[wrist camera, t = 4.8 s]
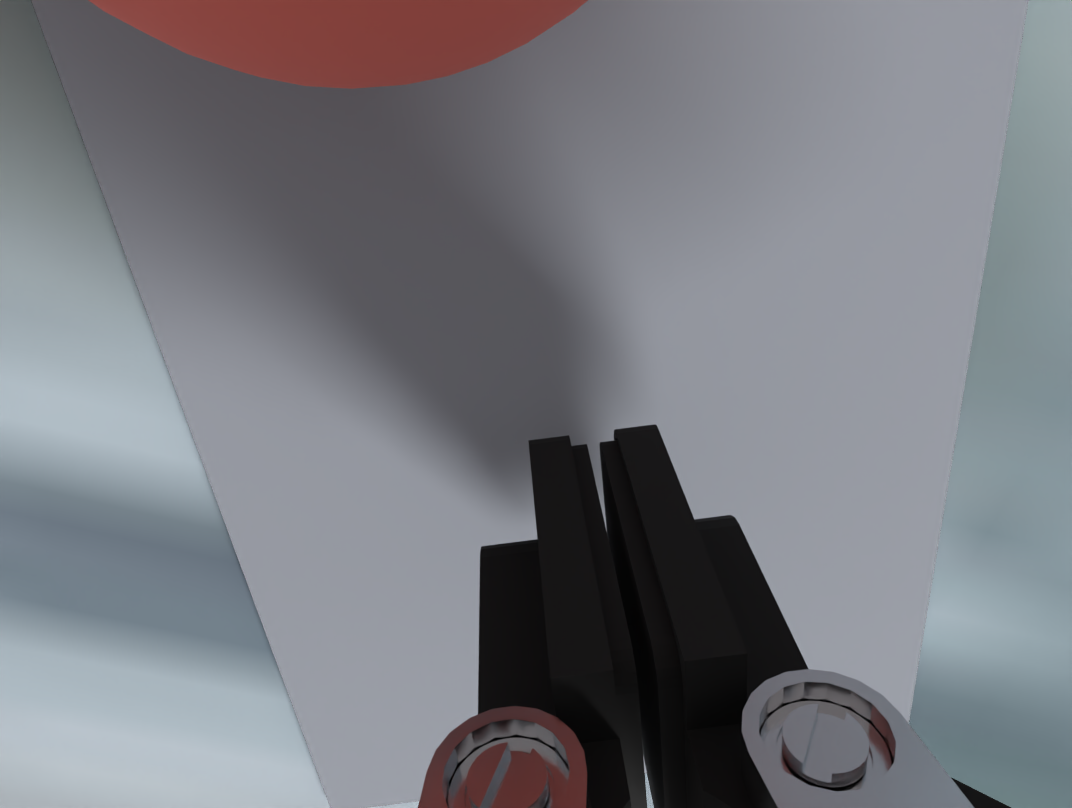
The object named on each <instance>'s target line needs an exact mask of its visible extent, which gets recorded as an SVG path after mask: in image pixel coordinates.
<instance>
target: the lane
mask: <svg viewBox="0 0 1072 808" xmlns="http://www.w3.org/2000/svg"><path fill="white" fill-rule="evenodd" d="M1028 1H1029V0H588V1H587V2H585V3H584V4H583V5H582V6H581V7H579V8H578V9H577V10H576V11H575V12H574V13H572V14H571V15H569V16H568V17H566V18H565V19H563V20H561V21H560V22H558V23H557V24H555V25H554V26H552V27H551V28H549V29H548V30H546V31H545V32H543V33H542V34H540V35H539V36H537V37H536V38H534V39H532V40H531V41H529V42H528V43H526V44H525V45H522V46H520V47H518V48H516V49H514V50H512V51H510V52H508V53H506V54H504V55H502V56H500V57H498V58H496V59H494V60H492V61H490V62H488V63H485V64H482V65H479V66H476V67H473V68H470V69H467V70H464V71H461V72H458V73H455V74H452V75H450V76H446V77H441V78H436V79H431V80H426V81H421V82H417V83H412V84H407V85H395V86H381V87H368V88H354V89H348V88H331V87H313V86H302V85H297V84H292V83H287V82H282V81H277V80H271V79H266V78H261V77H257V76H254V75H250V74H247V73H243V72H240V71H236V70H233V69H230V68H227V67H224V66H221V65H218V64H215V63H212V62H209V61H206V60H203V59H200V58H198V57H195V56H192V55H189V54H186V53H184V52H182V51H180V50H178V49H176V48H174V47H172V46H170V45H168V44H166V43H164V42H162V41H160V40H158V39H156V38H154V37H152V36H150V35H148V34H146V33H144V32H142V31H140V30H138V29H136V28H135V27H133V26H131V25H129V24H127V23H125V22H123V21H121V20H119V19H118V18H116V17H114V16H112V15H110V14H108V13H106V12H104V11H103V10H102V9H100V8H99V7H97V6H96V5H94V4H93V3H91V2H90V1H88V0H31V2H32V5H33V7H34V10H35V13H36V16H37V18H38V21H39V24H40V26H41V29H42V32H43V34H44V37H45V40H46V43H47V45H48V48H49V51H50V53H51V56H52V59H53V61H54V64H55V67H56V69H57V72H58V75H59V78H60V80H61V83H62V86H63V88H64V91H65V94H66V96H67V99H68V102H69V104H70V107H71V110H72V113H73V115H74V118H75V121H76V123H77V126H78V129H79V131H80V134H81V137H82V140H83V142H84V145H85V148H86V150H87V153H88V156H89V158H90V161H91V164H92V166H93V169H94V172H95V175H96V177H97V180H98V183H99V185H100V188H101V191H102V193H103V196H104V199H105V202H106V204H107V207H108V210H109V212H110V215H111V218H112V220H113V223H114V226H115V228H116V231H117V234H118V237H119V239H120V242H121V245H122V247H123V250H124V253H125V255H126V258H127V261H128V263H129V266H130V269H131V272H132V274H133V277H134V280H135V282H136V285H137V288H138V290H139V293H140V296H141V299H142V301H143V304H144V307H145V309H146V312H147V315H148V317H149V320H150V323H151V325H152V328H153V331H154V334H155V336H156V339H157V342H158V344H159V347H160V350H161V352H162V355H163V358H164V361H165V363H166V366H167V369H168V371H169V374H170V377H171V379H172V382H173V385H174V387H175V390H176V393H177V396H178V398H179V401H180V404H181V406H182V409H183V412H184V414H185V417H186V420H187V423H188V425H189V428H190V431H191V433H192V436H193V439H194V441H195V444H196V447H197V449H198V452H199V455H200V458H201V460H202V463H203V466H204V468H205V471H206V474H207V476H208V479H209V482H210V484H211V487H212V490H213V493H214V495H215V498H216V501H217V503H218V506H219V509H220V511H221V514H222V517H223V520H224V522H225V525H226V528H227V530H228V533H229V536H230V538H231V541H232V544H233V546H234V549H235V552H236V555H237V557H238V560H239V563H240V565H241V568H242V571H243V573H244V576H245V579H246V582H247V584H248V587H249V590H250V592H251V595H252V598H253V600H254V603H255V606H256V608H257V611H258V614H259V617H260V619H261V622H262V625H263V627H264V630H265V633H266V635H267V638H268V641H269V643H270V646H271V649H272V652H273V654H274V657H275V660H276V662H277V665H278V668H279V670H280V673H281V676H282V679H283V681H284V684H285V687H286V689H287V692H288V695H289V697H290V700H291V703H292V705H293V708H294V711H295V714H296V716H297V719H298V722H299V724H300V727H301V730H302V732H303V735H304V738H305V741H306V743H307V746H308V749H309V751H310V754H311V757H312V759H313V762H314V765H315V767H316V770H317V773H318V776H319V778H320V781H321V784H322V786H323V789H324V792H325V794H326V797H327V800H328V802H329V805H330V808H367V807H376V806H384V805H392V804H400V803H408V802H416V801H420V797H421V793H422V789H423V784H424V780H425V776H426V772H427V770H428V767H429V765H430V762H431V760H432V758H433V755H434V753H435V750H436V749H437V748H438V747H439V745H440V744H441V743H442V742H443V740H444V739H445V738H446V737H447V735H448V734H449V733H450V732H451V731H452V730H454V729H455V728H456V727H458V726H459V725H461V724H462V723H463V722H465V721H466V720H467V719H469V718H470V717H473V716H475V715H478V669H479V591H480V549H481V547H482V546H488V545H496V544H504V543H512V542H520V541H528V540H536V539H537V528H536V518H535V507H534V496H533V485H532V474H531V464H530V453H529V442H528V441H529V440H535V439H543V438H551V437H559V436H567V435H569V437H570V441H571V446H575V445H582V444H587V446H588V451H589V455H590V460H591V464H592V468H593V473H594V477H595V482H596V486H597V491H598V495H599V500H600V504H601V509H602V513H603V518H604V522H605V527H606V517H605V505H604V494H603V483H602V471H601V460H600V442H606V441H614V429H622V428H630V427H638V426H646V425H653V424H655V425H657V427H658V429H659V431H660V434H661V437H662V439H663V442H664V444H665V447H666V449H667V452H668V454H669V457H670V459H671V462H672V464H673V467H674V469H675V472H676V474H677V477H678V479H679V482H680V484H681V487H682V489H683V492H684V494H685V497H686V500H687V502H688V505H689V507H690V510H691V512H692V515H693V517H694V519H702V518H710V517H718V516H725V515H732V516H734V517H735V518H736V520H737V521H738V523H739V525H740V527H741V529H742V531H743V533H744V535H745V537H746V539H747V541H748V543H749V545H750V548H751V550H752V552H753V554H754V556H755V558H756V560H757V562H758V564H759V566H760V568H761V571H762V573H763V575H764V577H765V579H766V581H767V583H768V585H769V587H770V589H771V591H772V594H773V596H774V598H775V600H776V602H777V604H778V606H779V608H780V610H781V612H782V614H783V617H784V619H785V621H786V623H787V625H788V627H789V629H790V631H791V633H792V635H793V637H794V640H795V642H796V644H797V646H798V648H799V650H800V652H801V654H802V656H803V658H804V660H805V663H806V665H807V667H808V669H813V670H822V671H830V672H836V673H839V674H842V675H844V676H847V677H850V678H853V679H856V680H859V681H861V682H862V683H864V684H866V685H867V686H869V687H871V688H872V689H874V690H875V691H877V692H879V693H880V694H882V695H883V696H884V697H885V698H886V699H887V700H888V701H889V702H890V703H891V704H892V705H893V706H894V707H895V708H896V709H897V710H898V711H899V712H900V713H901V714H902V716H903V717H904V718H905V719H906V721H907V722H908V723H909V718H910V712H911V706H912V700H913V694H914V688H915V682H916V676H917V670H918V664H919V658H920V652H921V646H922V640H923V634H924V628H925V622H926V616H927V610H928V604H929V598H930V592H931V586H932V580H933V573H934V567H935V561H936V555H937V549H938V543H939V537H940V531H941V525H942V519H943V513H944V507H945V501H946V495H947V489H948V483H949V477H950V471H951V465H952V459H953V453H954V447H955V441H956V435H957V429H958V423H959V417H960V411H961V405H962V399H963V393H964V387H965V381H966V374H967V368H968V362H969V356H970V350H971V344H972V338H973V332H974V326H975V320H976V314H977V308H978V302H979V296H980V290H981V284H982V278H983V272H984V266H985V260H986V254H987V248H988V242H989V236H990V230H991V224H992V218H993V212H994V206H995V200H996V194H997V188H998V182H999V175H1000V169H1001V163H1002V157H1003V151H1004V145H1005V139H1006V133H1007V127H1008V121H1009V115H1010V109H1011V103H1012V97H1013V91H1014V85H1015V79H1016V73H1017V67H1018V61H1019V55H1020V49H1021V43H1022V37H1023V31H1024V25H1025V19H1026V13H1027V7H1028ZM606 531H607V528H606ZM643 760H644V756H643ZM644 773H647V771H646V766H645V761H644Z"/></svg>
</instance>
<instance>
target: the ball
mask: <svg viewBox="0 0 1072 808" xmlns="http://www.w3.org/2000/svg"><path fill="white" fill-rule="evenodd" d="M88 1H90V2H91V3H93V4H94V5H96V6H97V7H99V8H100V9H102V10H103V11H104V12H106V13H108V14H110V15H112V16H114V17H116V18H118V19H119V20H121V21H123V22H125V23H127V24H129V25H131V26H133V27H135V28H136V29H138V30H140V31H142V32H144V33H146V34H148V35H150V36H152V37H154V38H156V39H158V40H160V41H162V42H164V43H166V44H168V45H170V46H172V47H174V48H176V49H178V50H180V51H182V52H184V53H186V54H189V55H192V56H195V57H198V58H200V59H203V60H206V61H209V62H212V63H215V64H218V65H221V66H224V67H227V68H230V69H233V70H236V71H240V72H243V73H247V74H250V75H254V76H257V77H261V78H266V79H271V80H277V81H282V82H287V83H292V84H297V85H302V86H313V87H331V88H348V89H354V88H368V87H381V86H395V85H407V84H412V83H417V82H421V81H426V80H431V79H436V78H441V77H446V76H450V75H452V74H455V73H458V72H461V71H464V70H467V69H470V68H473V67H476V66H479V65H482V64H485V63H488V62H490V61H492V60H494V59H496V58H498V57H500V56H502V55H504V54H506V53H508V52H510V51H512V50H514V49H516V48H518V47H520V46H522V45H525V44H526V43H528V42H529V41H531V40H532V39H534V38H536V37H537V36H539V35H540V34H542V33H543V32H545V31H546V30H548V29H549V28H551V27H552V26H554V25H555V24H557V23H558V22H560V21H561V20H563V19H565V18H566V17H568V16H569V15H571V14H572V13H574V12H575V11H576V10H577V9H578V8H579V7H581V6H582V5H583V4H584V3H585V2H587V1H588V0H88Z"/></svg>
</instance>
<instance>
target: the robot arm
mask: <svg viewBox="0 0 1072 808" xmlns="http://www.w3.org/2000/svg"><path fill="white" fill-rule="evenodd" d="M528 442H529V453H530V464H531V474H532V485H533V496H534V507H535V518H536V528H537V539H536V540H528V541H520V542H512V543H504V544H496V545H488V546H482V547H481V549H480V591H479V669H478V715H475V716H473V717H470V718H469V719H467V720H466V721H465V722H463V723H462V724H461V725H459V726H458V727H456V728H455V729H454V730H452V731H451V732H450V733H449V734H448V735H447V737H446V738H445V739H444V740H443V742H442V743H441V744H440V745H439V747H438V748H437V749H436V750H435V753H434V755H433V758H432V760H431V762H430V765H429V767H428V770H427V772H426V776H425V780H424V784H423V789H422V793H421V797H420V801H419V805H418V808H647V801H646V787H645V773H644V761H645V766H646V771H647V775H648V780H649V785H650V790H651V795H652V800H653V805H654V808H1011V807H1009V806H1007V805H1005V804H1003V803H1001V802H999V801H997V800H995V799H993V798H991V797H989V796H987V795H985V794H983V793H981V792H979V791H977V790H975V789H973V788H971V787H969V786H967V785H965V784H963V783H961V782H959V781H957V780H955V779H953V778H951V777H950V776H949V775H948V773H947V772H946V771H945V769H944V768H943V767H942V766H941V764H940V763H939V762H938V760H937V759H936V758H935V757H934V755H933V754H932V753H931V751H930V750H929V749H928V748H927V746H926V745H925V744H924V742H923V741H922V740H921V739H920V737H919V736H918V735H917V734H916V732H915V731H914V730H913V728H912V727H911V726H910V725H909V723H908V722H907V721H906V719H905V718H904V717H903V716H902V714H901V713H900V712H899V711H898V710H897V709H896V708H895V707H894V706H893V705H892V704H891V703H890V702H889V701H888V700H887V699H886V698H885V697H884V696H883V695H882V694H880V693H879V692H877V691H875V690H874V689H872V688H871V687H869V686H867V685H866V684H864V683H862V682H861V681H859V680H856V679H853V678H850V677H847V676H844V675H842V674H839V673H836V672H830V671H822V670H813V669H808V667H807V665H806V663H805V660H804V658H803V656H802V654H801V652H800V650H799V648H798V646H797V644H796V642H795V640H794V637H793V635H792V633H791V631H790V629H789V627H788V625H787V623H786V621H785V619H784V617H783V614H782V612H781V610H780V608H779V606H778V604H777V602H776V600H775V598H774V596H773V594H772V591H771V589H770V587H769V585H768V583H767V581H766V579H765V577H764V575H763V573H762V571H761V568H760V566H759V564H758V562H757V560H756V558H755V556H754V554H753V552H752V550H751V548H750V545H749V543H748V541H747V539H746V537H745V535H744V533H743V531H742V529H741V527H740V525H739V523H738V521H737V520H736V518H735V517H734V516H732V515H725V516H718V517H710V518H702V519H694V517H693V515H692V512H691V510H690V507H689V505H688V502H687V500H686V497H685V494H684V492H683V489H682V487H681V484H680V482H679V479H678V477H677V474H676V472H675V469H674V467H673V464H672V462H671V459H670V457H669V454H668V452H667V449H666V447H665V444H664V442H663V439H662V437H661V434H660V431H659V429H658V427H657V425H655V424H653V425H646V426H638V427H630V428H622V429H614V441H606V442H600V460H601V471H602V483H603V494H604V505H605V517H606V527H605V522H604V518H603V513H602V509H601V504H600V500H599V495H598V491H597V486H596V482H595V477H594V473H593V468H592V464H591V460H590V455H589V451H588V446H587V444H582V445H575V446H571V441H570V437H569V435H567V436H559V437H551V438H543V439H535V440H529V441H528ZM606 528H607V531H606ZM643 756H644V760H643Z"/></svg>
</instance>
